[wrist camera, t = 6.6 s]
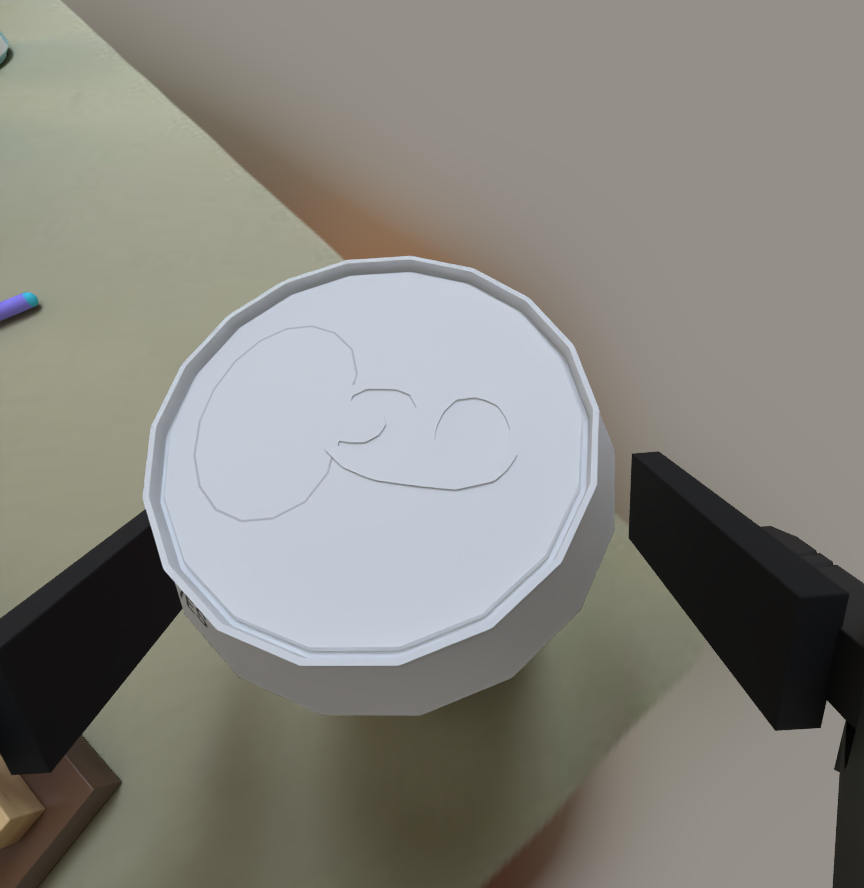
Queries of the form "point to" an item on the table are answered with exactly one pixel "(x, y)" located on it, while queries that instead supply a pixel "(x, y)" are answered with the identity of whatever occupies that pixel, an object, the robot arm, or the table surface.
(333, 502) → the supplement can
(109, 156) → the table surface
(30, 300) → the spoon
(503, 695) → the table surface
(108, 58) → the table surface
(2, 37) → the can
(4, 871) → the scrub board
